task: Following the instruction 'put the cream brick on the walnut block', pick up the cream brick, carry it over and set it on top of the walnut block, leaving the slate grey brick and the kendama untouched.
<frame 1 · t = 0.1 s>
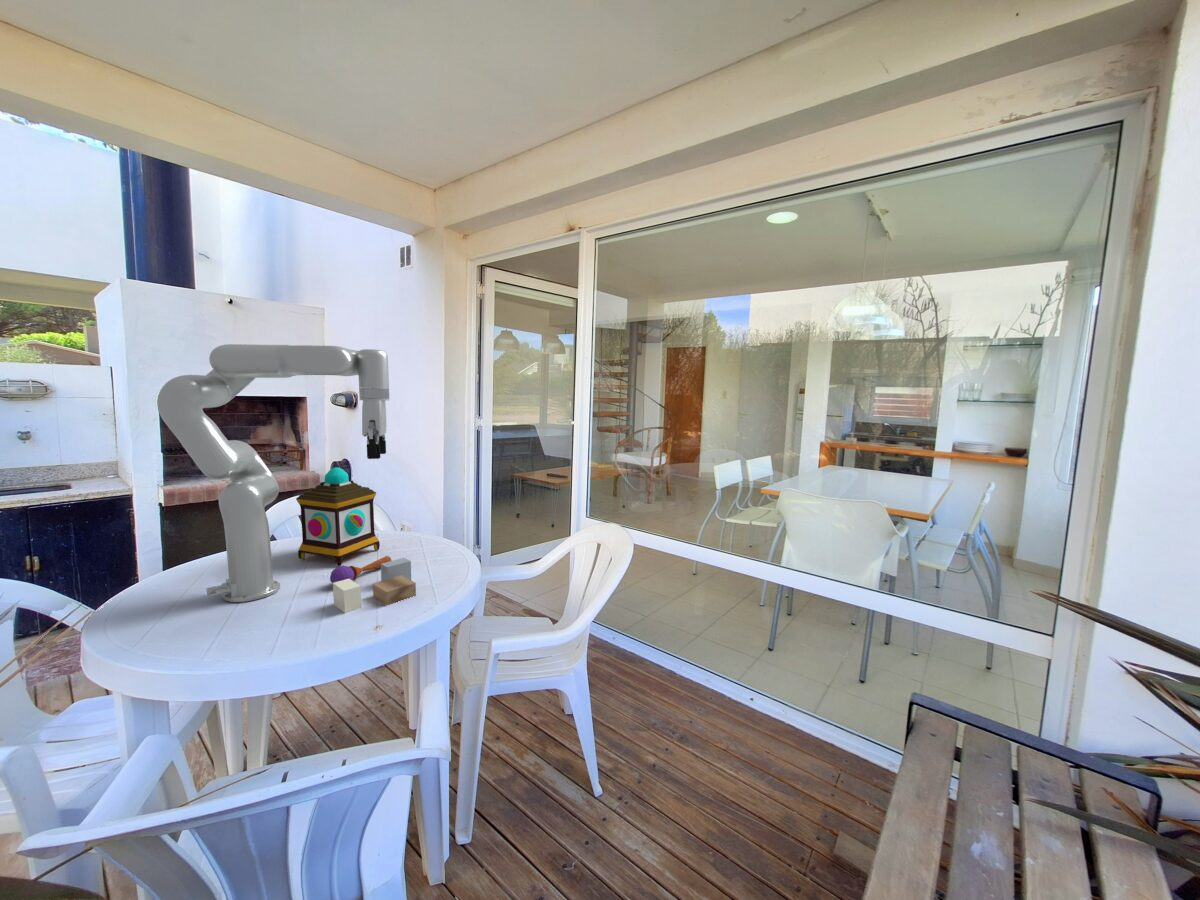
hand: (377, 456, 133), 37 cm above the table, tool pointing down, fingers open, 9 cm apart
decorative lantern: (340, 555, 159), on the table
cream brick: (347, 606, 122), on the table
walnut block: (394, 597, 129), on the table
slate grey brick: (396, 582, 138), on the table
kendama: (362, 577, 141), on the table
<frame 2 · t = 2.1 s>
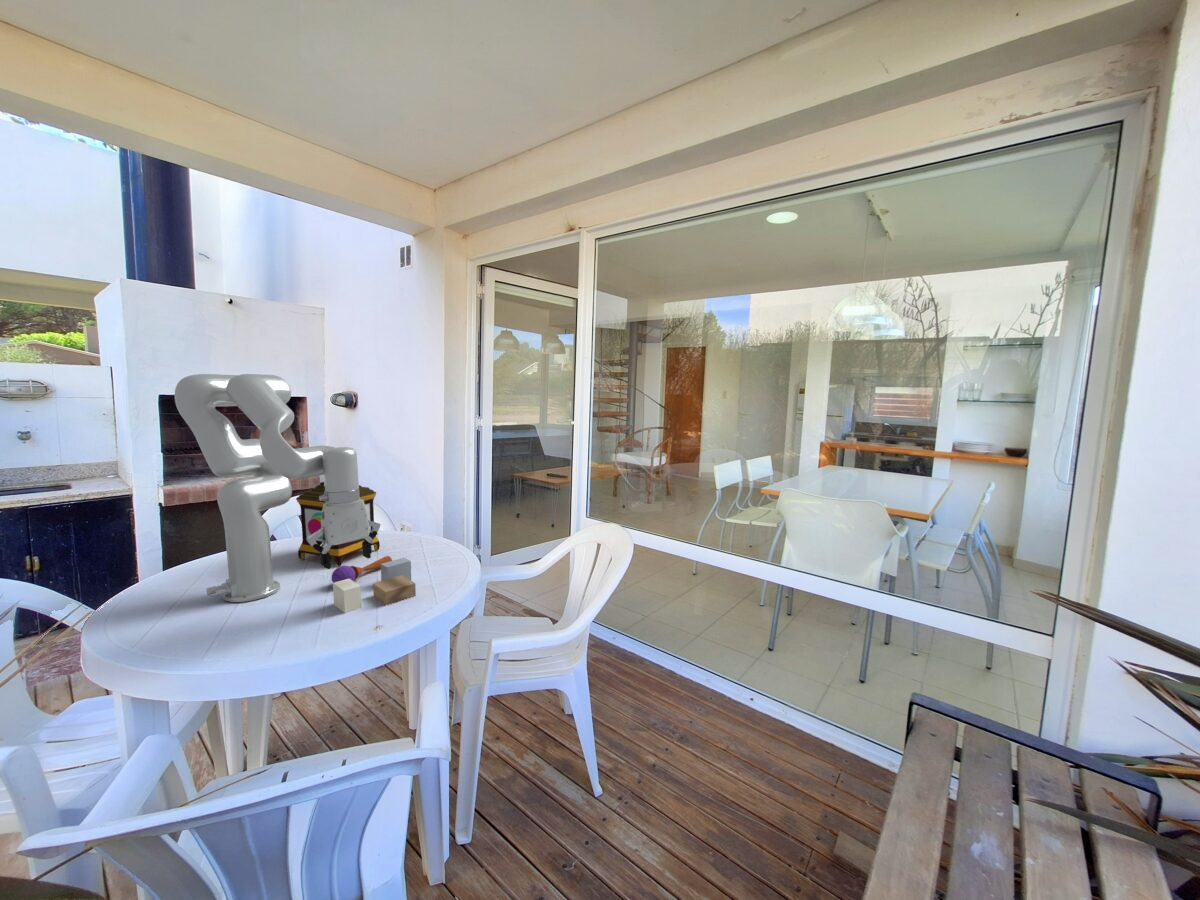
hand: (347, 562, 121), 12 cm above the table, tool pointing down, fingers open, 9 cm apart
nothing on the table moved.
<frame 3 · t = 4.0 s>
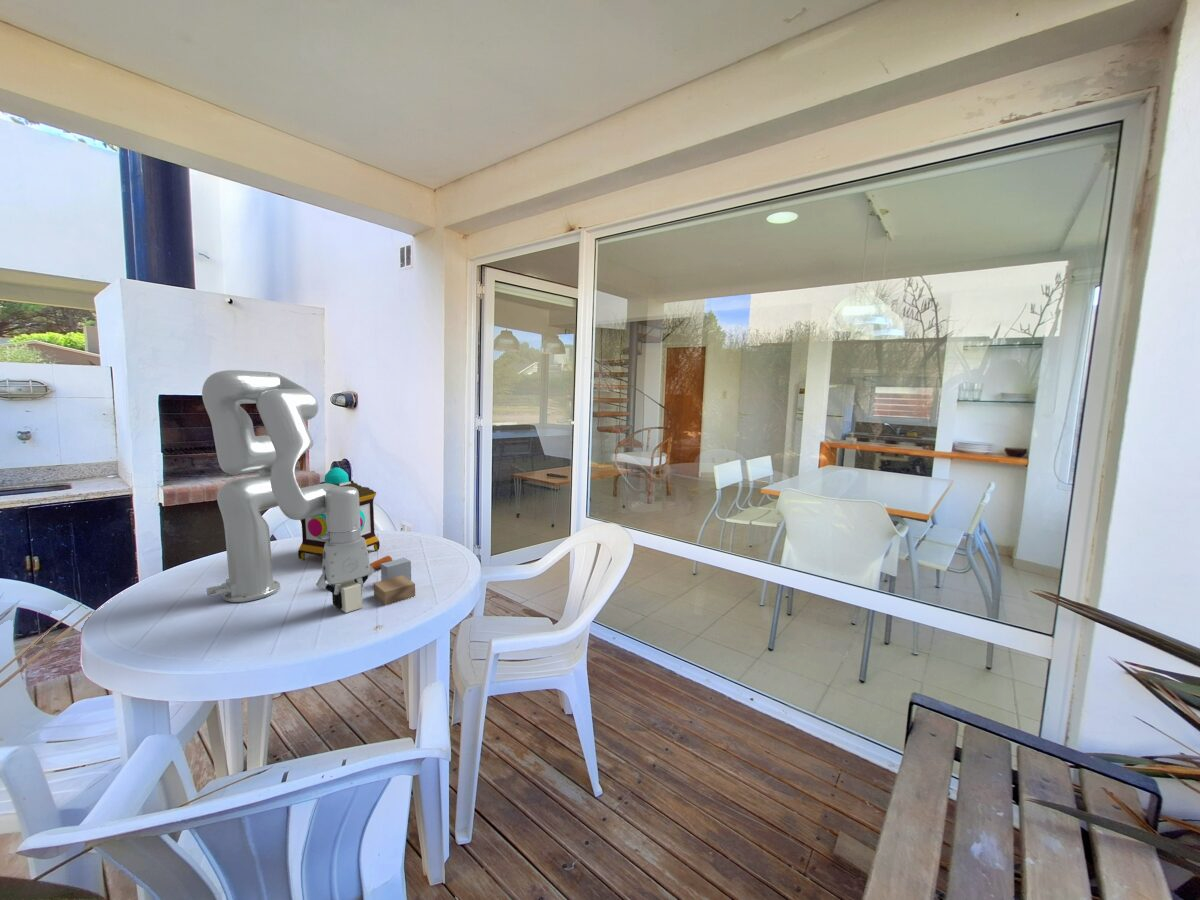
hand: (347, 603, 122), 1 cm above the table, tool pointing down, fingers closed on cream brick, 3 cm apart
cream brick: (348, 606, 122), on the table, touching gripper
everything else where it was.
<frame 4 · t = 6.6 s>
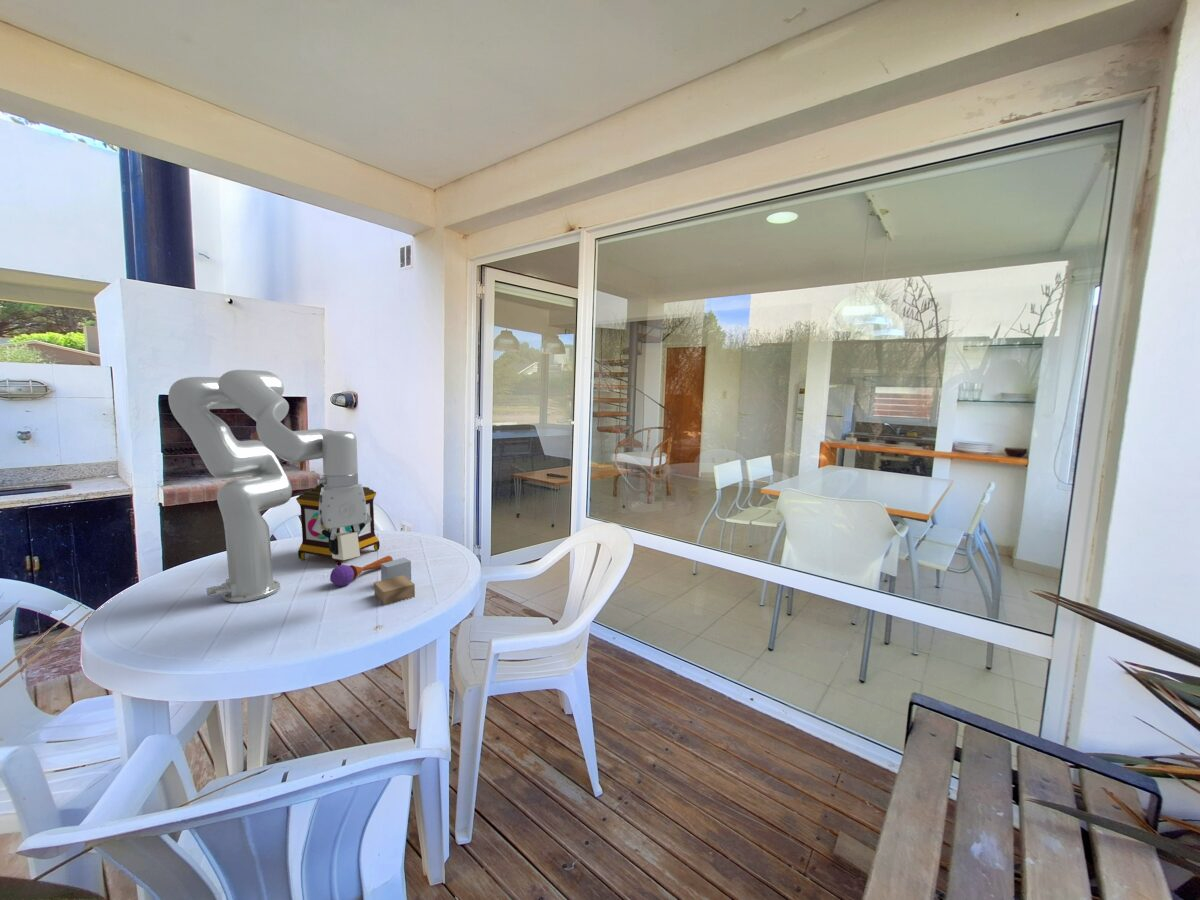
hand: (344, 550, 120), 15 cm above the table, tool pointing down, fingers closed on cream brick, 3 cm apart
cream brick: (346, 557, 120), point 13 cm above the table, tilted 10°, touching gripper
everything else where it was.
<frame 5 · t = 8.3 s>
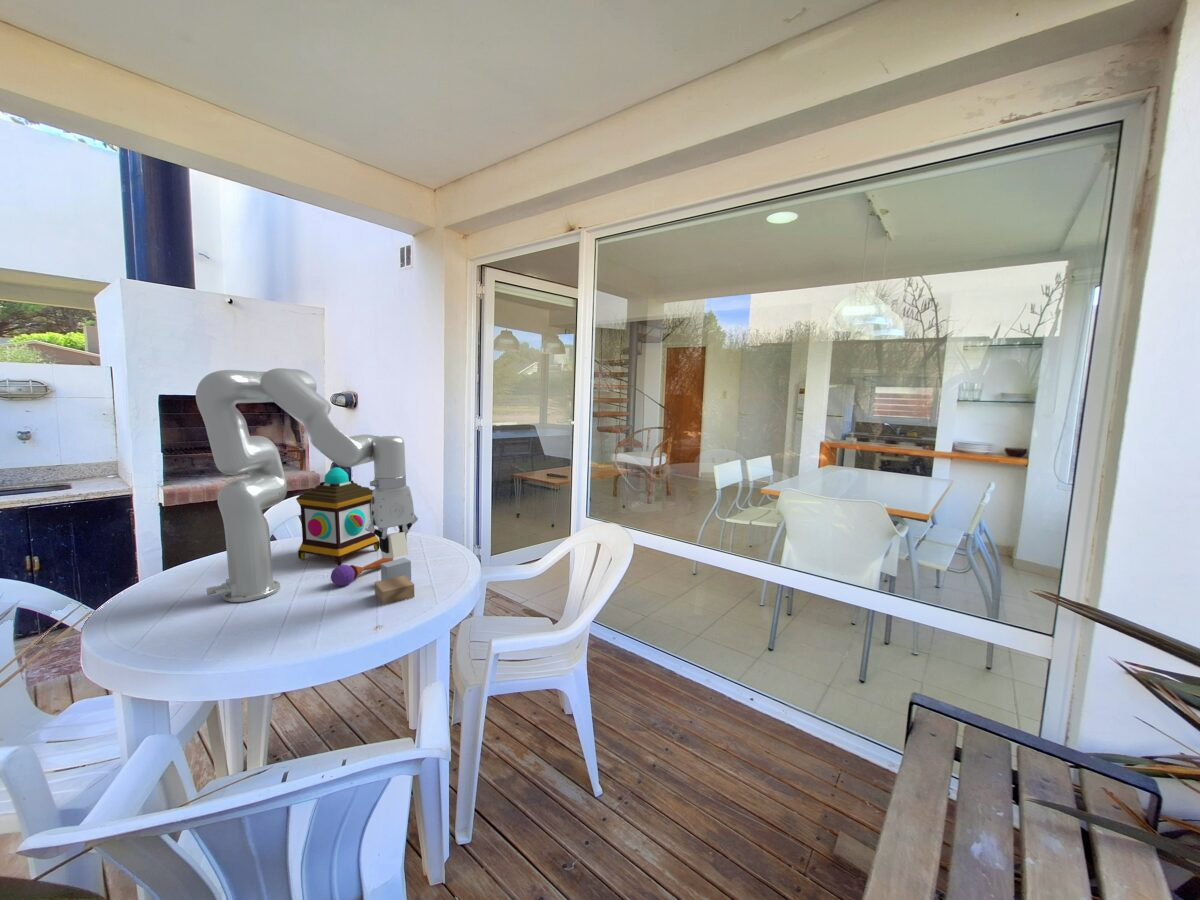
hand: (393, 549, 127), 13 cm above the table, tool pointing down, fingers closed on cream brick, 3 cm apart
cream brick: (395, 556, 127), point 12 cm above the table, tilted 15°, touching gripper
everything else where it was.
when the fingers open (6 cm above the table, at t = 9.7 s): cream brick drops 1 cm, point 4 cm above the table.
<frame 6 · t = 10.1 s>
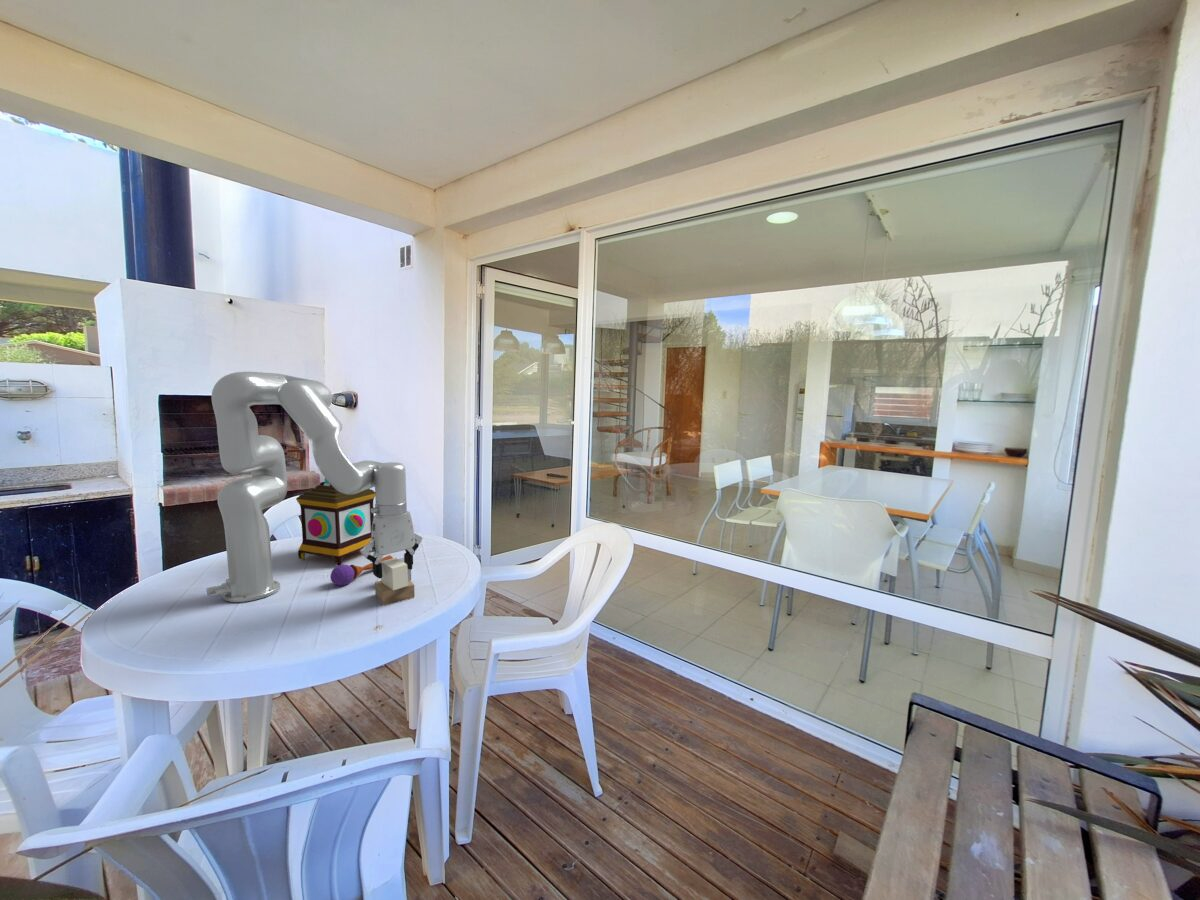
hand: (393, 572, 128), 7 cm above the table, tool pointing down, fingers open, 7 cm apart
cream brick: (395, 584, 128), point 4 cm above the table
everything else where it was.
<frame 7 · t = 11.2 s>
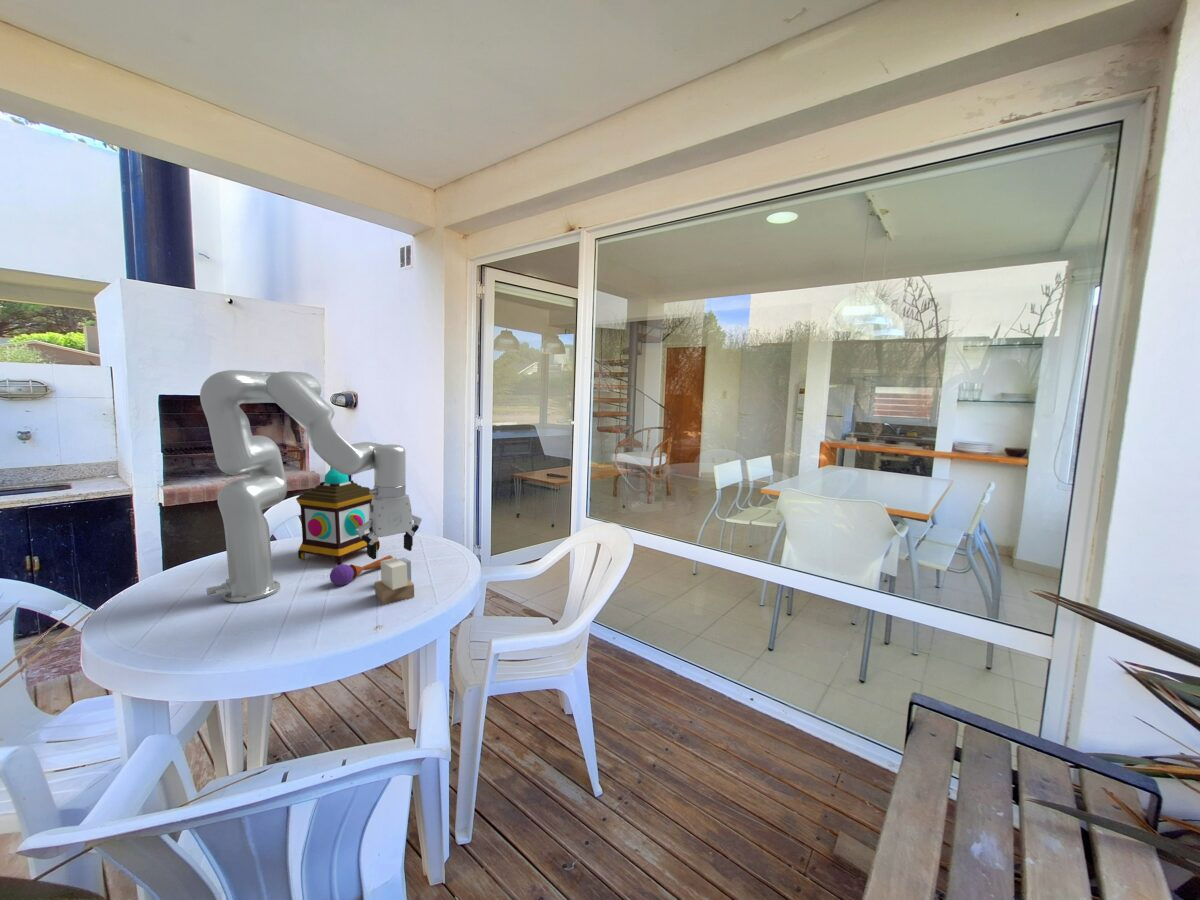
hand: (390, 553, 127), 12 cm above the table, tool pointing down, fingers open, 9 cm apart
cream brick: (394, 583, 128), point 4 cm above the table, touching walnut block
walnut block: (394, 597, 129), on the table, touching cream brick
everything else where it was.
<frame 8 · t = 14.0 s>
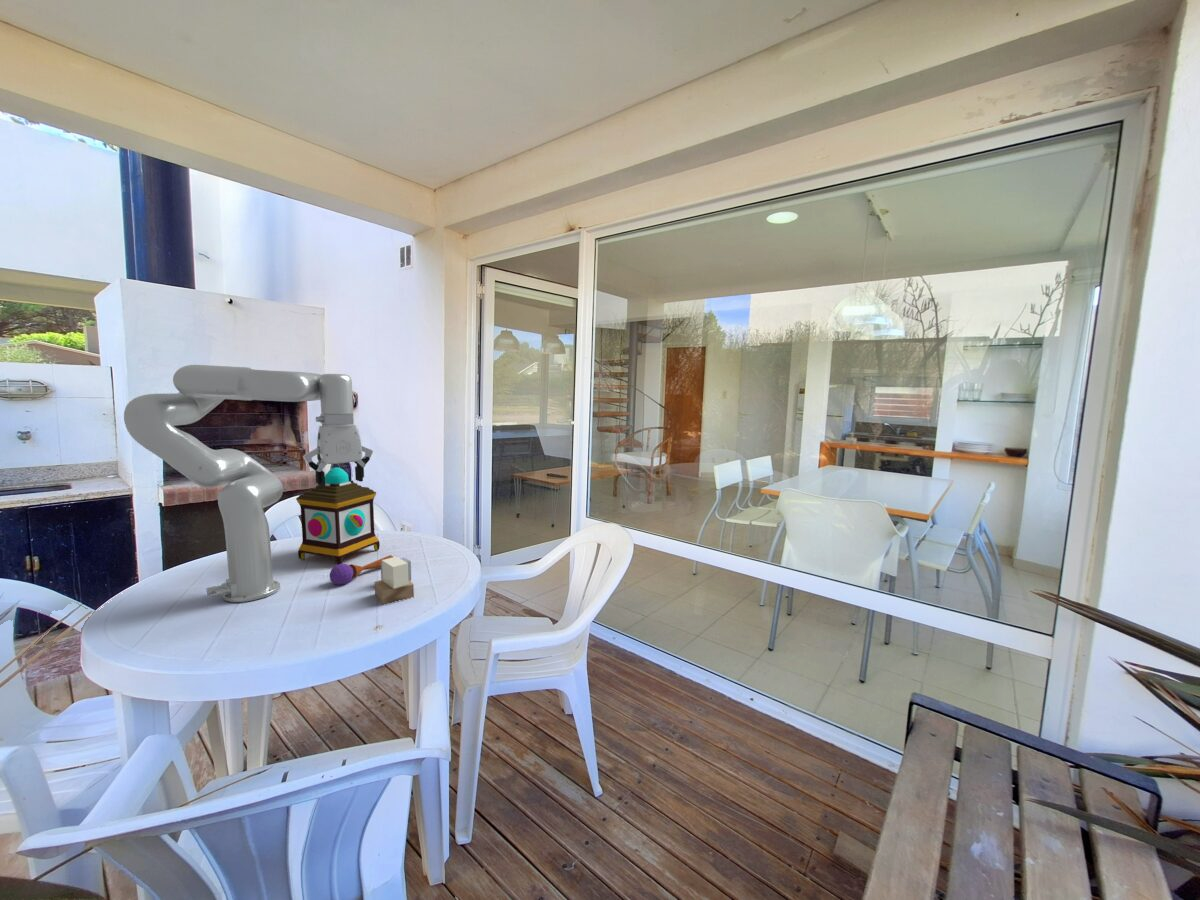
hand: (340, 483, 128), 30 cm above the table, tool pointing down, fingers open, 9 cm apart
cream brick: (395, 582, 128), point 4 cm above the table
walnut block: (394, 597, 129), on the table
at the end: cream brick 0.4 cm off-centre on the walnut block, point 4.0 cm above the walnut block's base; slate grey brick moved 0.1 cm from its start; walnut block moved 0.5 cm from its start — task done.
